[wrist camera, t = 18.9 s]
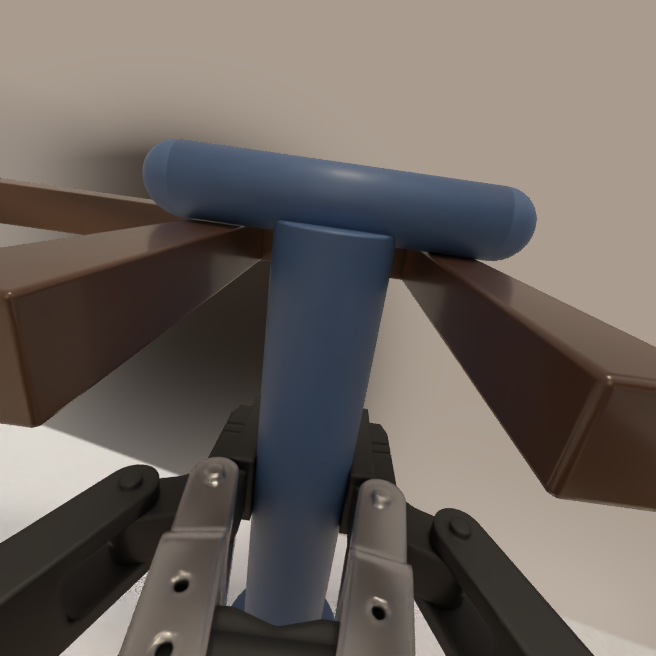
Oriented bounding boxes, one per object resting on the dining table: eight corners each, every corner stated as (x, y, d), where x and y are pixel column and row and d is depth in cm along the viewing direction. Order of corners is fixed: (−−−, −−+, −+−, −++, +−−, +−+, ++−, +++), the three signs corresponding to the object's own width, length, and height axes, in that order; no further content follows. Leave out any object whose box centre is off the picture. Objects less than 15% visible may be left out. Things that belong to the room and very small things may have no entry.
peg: (395, 746, 12) (617, 190, 5) (137, 711, 12) (70, 110, 5) (381, 602, 16) (500, 192, 10) (191, 576, 16) (188, 147, 10)
